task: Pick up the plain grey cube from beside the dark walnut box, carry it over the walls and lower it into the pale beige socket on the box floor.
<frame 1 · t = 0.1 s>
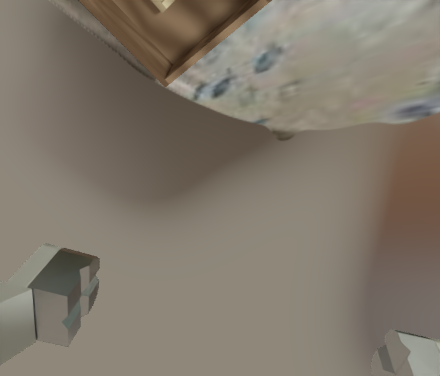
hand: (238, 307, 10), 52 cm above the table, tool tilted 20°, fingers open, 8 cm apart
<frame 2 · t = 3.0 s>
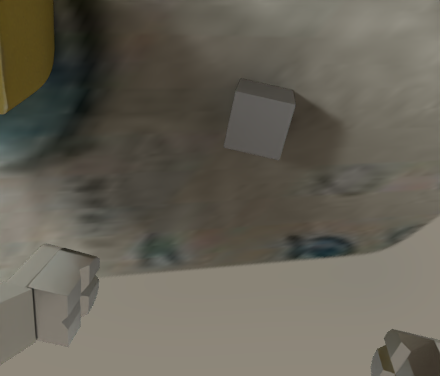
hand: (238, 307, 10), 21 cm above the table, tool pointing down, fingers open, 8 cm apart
plain grey cube: (260, 109, 28), on the table
flower pot: (24, 14, 27), on the table
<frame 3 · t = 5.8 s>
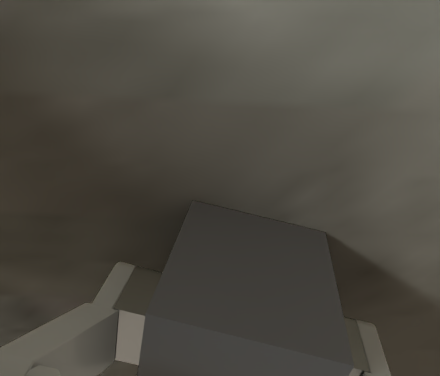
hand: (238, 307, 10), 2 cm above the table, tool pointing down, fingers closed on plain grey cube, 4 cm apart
plain grey cube: (243, 267, 12), on the table, touching gripper
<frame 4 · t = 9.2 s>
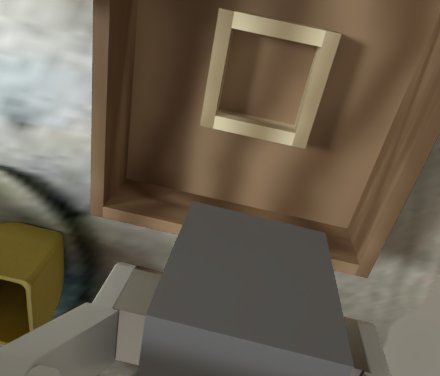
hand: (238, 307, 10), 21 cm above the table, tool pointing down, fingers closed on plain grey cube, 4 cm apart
plain grey cube: (243, 268, 12), point 20 cm above the table, touching gripper
walled box: (265, 75, 28), on the table
flower pot: (43, 244, 39), on the table
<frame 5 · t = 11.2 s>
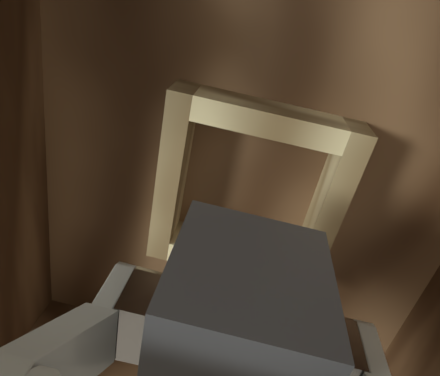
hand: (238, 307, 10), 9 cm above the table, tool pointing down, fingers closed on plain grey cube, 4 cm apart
plain grey cube: (243, 267, 12), point 7 cm above the table, touching gripper
walled box: (250, 174, 18), on the table
when the fingers open (4 cm above the table, at t = 12.9 s): plain grey cube drops 1 cm, resting on walled box.
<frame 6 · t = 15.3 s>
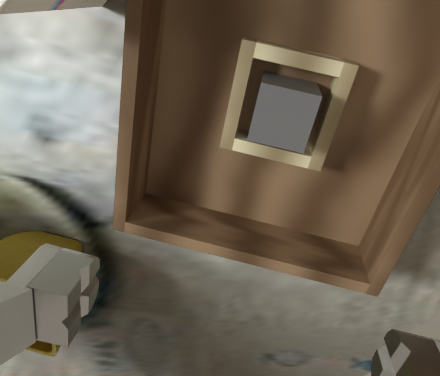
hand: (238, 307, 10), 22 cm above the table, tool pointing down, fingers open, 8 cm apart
plain grey cube: (282, 102, 28), point 1 cm above the table, touching walled box
walled box: (283, 99, 29), on the table
flower pot: (62, 252, 40), on the table
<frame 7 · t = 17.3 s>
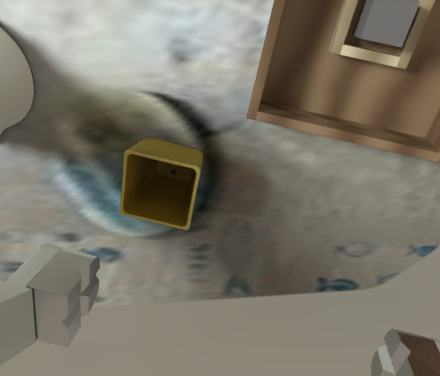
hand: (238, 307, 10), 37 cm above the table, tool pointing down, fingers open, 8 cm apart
plain grey cube: (377, 18, 38), point 1 cm above the table, touching walled box
walled box: (375, 18, 39), on the table
flower pot: (176, 161, 50), on the table
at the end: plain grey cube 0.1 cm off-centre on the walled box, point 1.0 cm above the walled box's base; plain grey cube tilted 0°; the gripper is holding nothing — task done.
